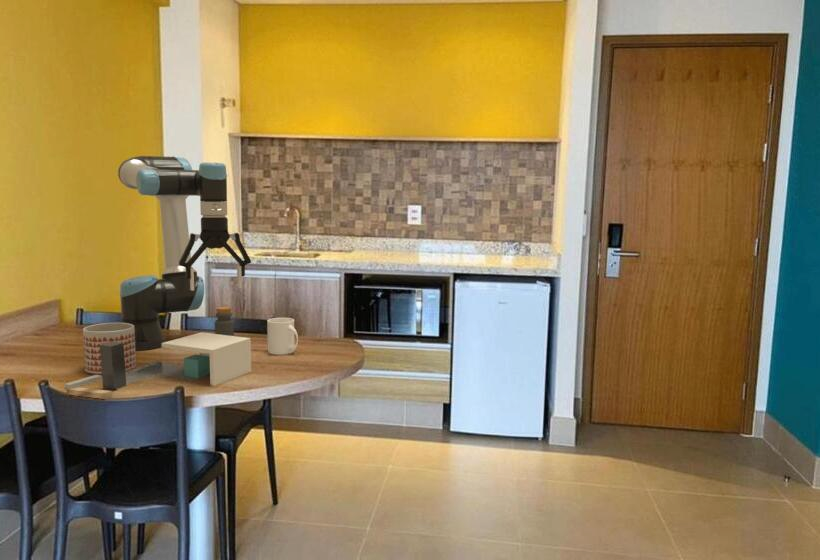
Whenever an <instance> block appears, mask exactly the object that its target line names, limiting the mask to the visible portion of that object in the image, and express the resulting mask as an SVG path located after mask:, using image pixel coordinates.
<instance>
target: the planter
mask: <svg viewBox="0 0 820 560" xmlns="http://www.w3.org/2000/svg"><path fill="white" fill-rule="evenodd" d="M82 339H83V340H82V341H83V342H82V343H83V357H84V372H85V373H87V374H88V375H91V376H93V375H101V376H102V366H101V353H100V345H101V344H105V343H109V342H112V341H113V342H120V343H123V345H124V359H125V372H126V371H129V370H132V369H135V368H137V355H136V354H137V353H136V351H137V350H135V329H134V325H132V324H129V323H122V322H103V323H96V324H91V325H87V326H85V327H83V328H82Z"/></svg>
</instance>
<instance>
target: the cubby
mask: <svg viewBox="0 0 820 560" xmlns="http://www.w3.org/2000/svg"><path fill="white" fill-rule="evenodd" d="M251 339H252V338H250V337H243V336H235V335H234V336H228V335H220V334H215V333H210V332H201V331H200V332H198V333H194V334H191V335H187V336H182V337H178V338H176V339H172V340H168V341H165V342H164V343H162V346H161V348H163V349H169V350H170V349H171V350H178V351H185V352H192V353H198V355H203V356H210V375H209V377H210V378H209V379H210V381H209V383H210V386H213V387H215V386H218V385H219V384H223V383H225V382H227V381H231V380H232V379H233V380H234V379H235V378H238V377H240V376H243V375H246V374H248V373H251V372H252V345H251Z"/></svg>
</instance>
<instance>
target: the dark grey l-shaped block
mask: <svg viewBox="0 0 820 560" xmlns="http://www.w3.org/2000/svg"><path fill="white" fill-rule="evenodd" d="M100 353H101V366H102V375H101V376H102V388H103V389H102V390H107V391H112V392H116V391H119V390H118V389H121V388H124V387H126V386H127V385H129V384H131V383H134V382H139V381H141V380H144V379H146V378H149V377H153V376H157V375H156V374H159V373H161V372H163V368H162V363H163V361H158V360H156V361H153V362H150V363H147V364H144V365H141V366H138V367H135V368H134V369H132V370H129V371H126V372H125V359H124V345H123V343H120V342H113V341H112V342H109V343H105V344H101V345H100Z"/></svg>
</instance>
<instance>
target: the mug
mask: <svg viewBox="0 0 820 560" xmlns="http://www.w3.org/2000/svg"><path fill="white" fill-rule="evenodd" d="M266 323H267V326H266V327H267V328H266V329H267V330H266V331H267V332H266V333H267V351H268V353H269V354H270V355H273V356H274V355H276V356H283V355H284V356H285V355H291V354H292V353H294V352H295V350H296V348H297V347H298V344H299V336H298V332H297V330H296V328H295V319H294V318H291V317H275V318H274V317H273V318H269V319H267V322H266ZM295 337H296V342H295Z"/></svg>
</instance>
